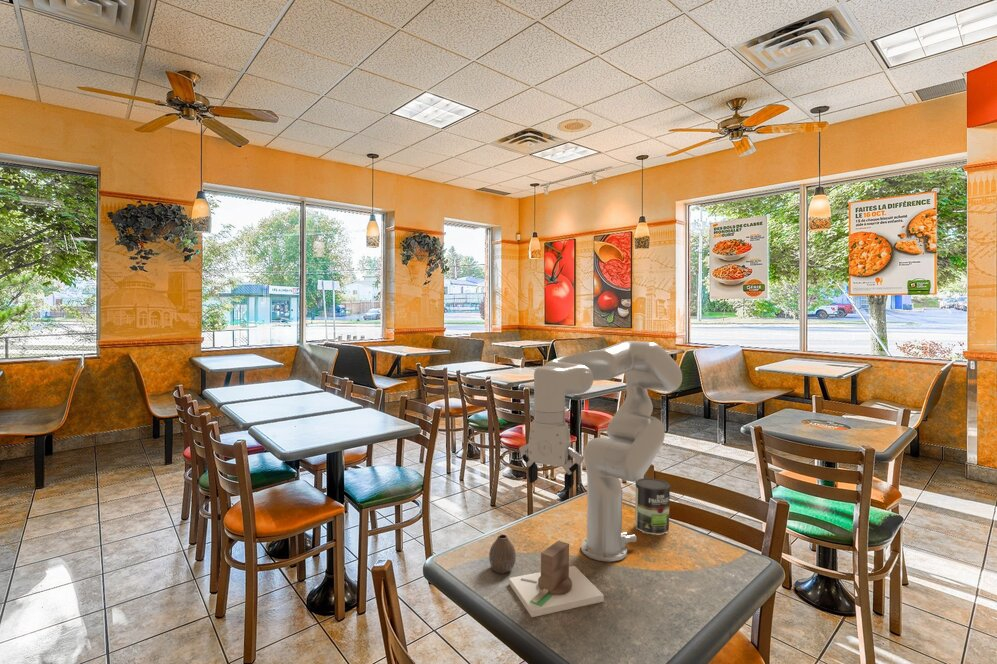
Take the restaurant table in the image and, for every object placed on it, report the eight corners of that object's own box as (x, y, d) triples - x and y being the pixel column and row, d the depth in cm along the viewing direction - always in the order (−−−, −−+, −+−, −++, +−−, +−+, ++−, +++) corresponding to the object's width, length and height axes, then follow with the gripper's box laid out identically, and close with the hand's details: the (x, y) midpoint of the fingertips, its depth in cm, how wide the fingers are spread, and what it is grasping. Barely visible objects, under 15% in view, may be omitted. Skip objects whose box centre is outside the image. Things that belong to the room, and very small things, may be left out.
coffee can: (676, 534, 149) (676, 488, 148) (644, 537, 147) (645, 490, 146) (658, 520, 159) (659, 476, 158) (628, 522, 157) (629, 478, 156)
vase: (513, 578, 124) (513, 543, 123) (486, 575, 125) (486, 541, 125) (517, 564, 130) (517, 531, 130) (492, 561, 132) (492, 529, 132)
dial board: (574, 571, 127) (574, 565, 127) (603, 601, 114) (603, 594, 114) (509, 583, 121) (509, 577, 121) (531, 617, 108) (531, 609, 108)
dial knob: (549, 572, 123) (549, 537, 123) (578, 583, 118) (578, 546, 118) (519, 596, 112) (519, 558, 112) (549, 608, 108) (550, 569, 107)
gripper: (511, 416, 123) (513, 483, 124) (576, 424, 114) (576, 496, 115) (526, 410, 129) (527, 474, 130) (588, 417, 120) (589, 486, 121)
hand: (550, 484), depth 122 cm, fingers open, 9 cm apart
